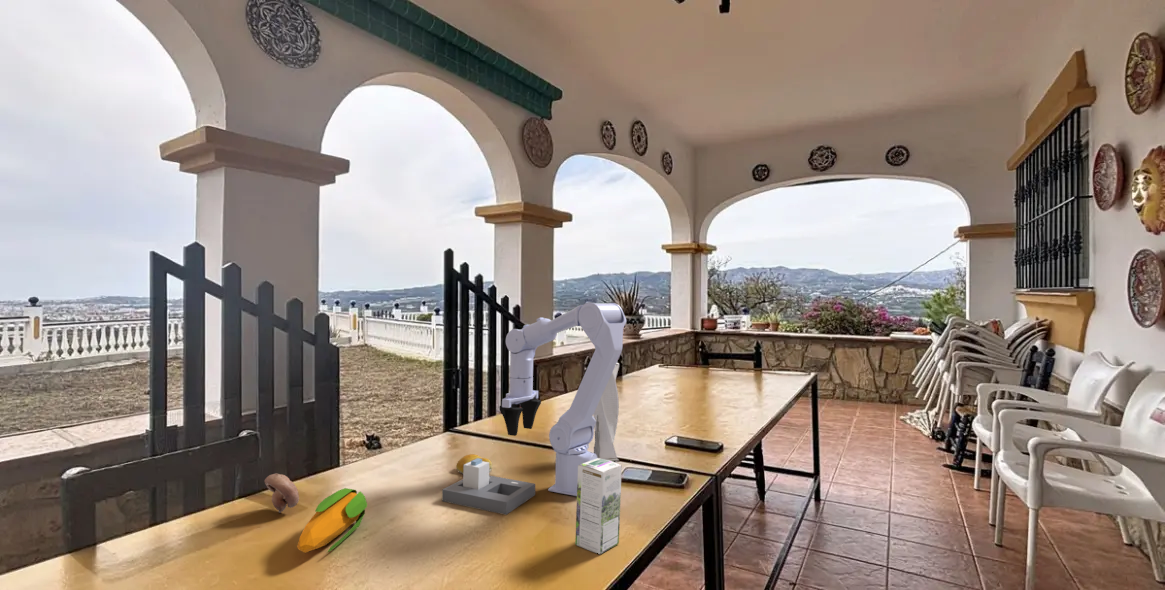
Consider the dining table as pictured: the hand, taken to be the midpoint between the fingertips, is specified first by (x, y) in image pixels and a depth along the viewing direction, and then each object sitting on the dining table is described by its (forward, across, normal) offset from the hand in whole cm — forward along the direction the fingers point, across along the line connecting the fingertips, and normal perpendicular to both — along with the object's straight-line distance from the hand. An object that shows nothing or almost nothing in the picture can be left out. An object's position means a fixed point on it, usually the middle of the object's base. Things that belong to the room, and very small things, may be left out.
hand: (520, 431), depth 131 cm
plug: (+10, +17, -1) cm, 20 cm away
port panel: (+10, +17, +2) cm, 20 cm away
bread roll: (+11, +3, -11) cm, 16 cm away
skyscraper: (+11, -22, +14) cm, 28 cm away
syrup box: (+11, +27, +32) cm, 43 cm away
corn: (+11, +46, -11) cm, 49 cm away
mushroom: (+11, +42, -30) cm, 53 cm away
